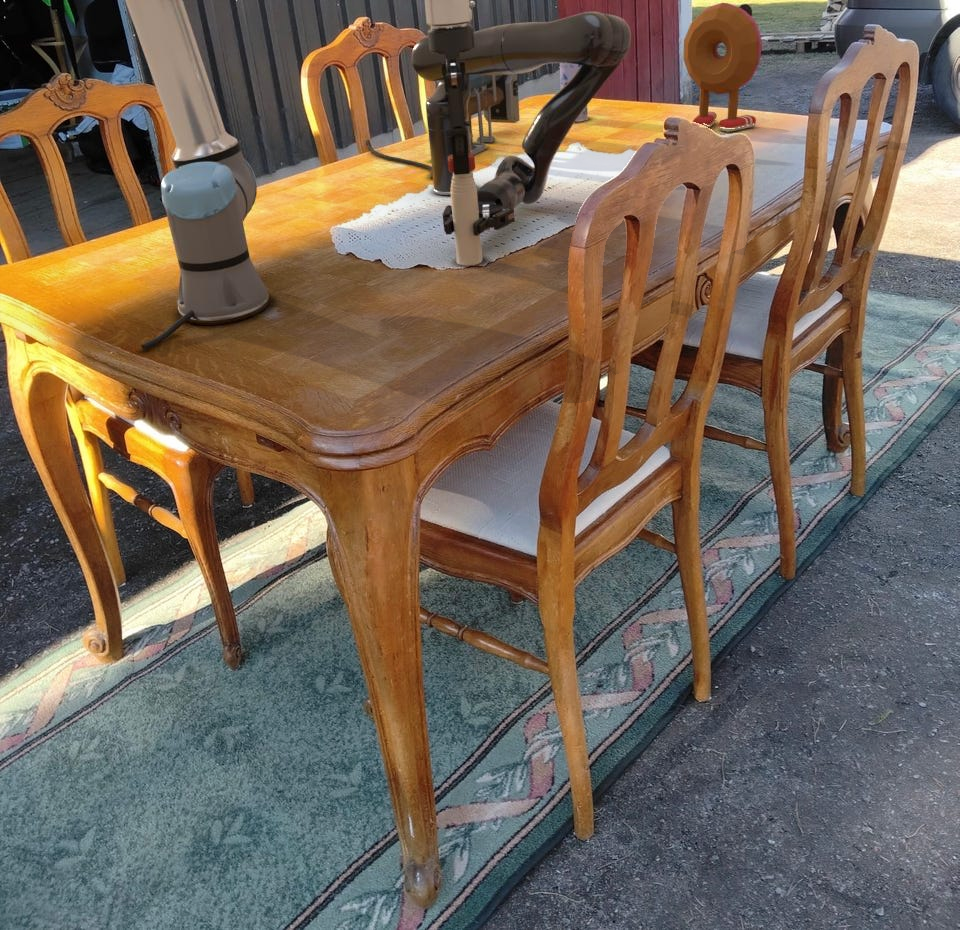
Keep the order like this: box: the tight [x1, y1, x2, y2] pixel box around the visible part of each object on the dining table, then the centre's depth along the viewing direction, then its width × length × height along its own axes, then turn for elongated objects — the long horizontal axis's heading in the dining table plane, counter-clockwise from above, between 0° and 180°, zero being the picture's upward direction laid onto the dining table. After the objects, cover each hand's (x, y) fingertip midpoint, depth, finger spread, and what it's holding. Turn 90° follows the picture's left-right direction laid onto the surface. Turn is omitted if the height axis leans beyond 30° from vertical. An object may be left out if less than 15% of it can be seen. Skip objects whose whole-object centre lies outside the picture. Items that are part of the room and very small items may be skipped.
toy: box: [682, 2, 763, 133], centre depth 248 cm, size 21×10×30 cm, turn 47°
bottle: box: [450, 171, 483, 267], centre depth 173 cm, size 5×5×18 cm
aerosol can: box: [559, 63, 589, 123], centre depth 273 cm, size 8×8×20 cm
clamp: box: [468, 74, 521, 156], centre depth 252 cm, size 35×9×21 cm, turn 151°
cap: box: [448, 153, 476, 173], centre depth 169 cm, size 5×5×2 cm
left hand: (461, 169), depth 170 cm, fingers closed on cap, 4 cm apart
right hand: (461, 229), depth 173 cm, fingers closed on bottle, 4 cm apart
